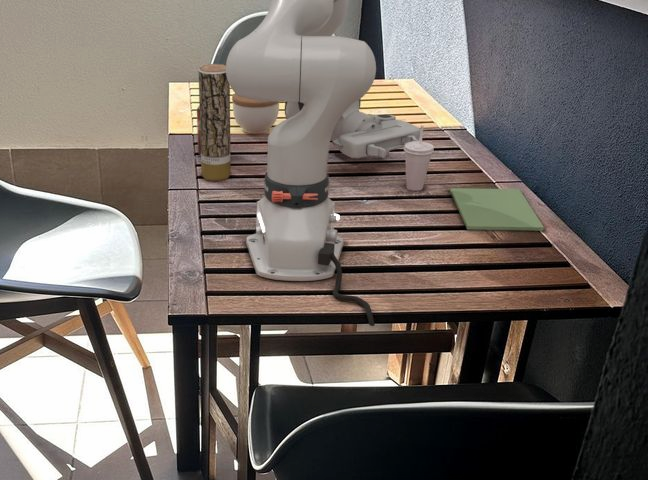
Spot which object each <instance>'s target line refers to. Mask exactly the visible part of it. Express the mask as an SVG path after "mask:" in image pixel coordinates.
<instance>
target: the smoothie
mask: <svg viewBox="0 0 648 480" xmlns="http://www.w3.org/2000/svg"><path fill="white" fill-rule="evenodd" d="M424 127H425V126H424V125H422V124H421V125H420V139H419V141H413V142H408V143H406V144H405V146H404V147H403V151H404V153H405V154H404V157H405V159H404V160H405V188H406V189H407V190H409V191H414V192H415V191H416V192H418V191H422V190H423V189H424V186H425V181H426V177H427V175H428V174H427V173H428V169H429V167H430V162H431V157H432V154H434V151H435V150H434V149H435V145H433V144H431V143H429V142H426V141H423V136H424V135H423V134H424Z"/></svg>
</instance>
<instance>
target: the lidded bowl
mask: <svg viewBox="0 0 648 480" xmlns="http://www.w3.org/2000/svg"><path fill="white" fill-rule="evenodd" d="M231 101H232V112H233V117H234V120H235V122H236V124H237V125H238V126H239V127H240V128H241V129H242V131H243V132H245V133H247V134H253V135H254V134H255V135H258V134H264V133H267V132H269V131H270V129H271V128H272V127H273V126H274V124H275V123H276V122H277V119H278V117H279V111H280V102H276V101H258V100H253V99H249V98H244V97H240V96H238V95H237V94H236V93H235V92H234V93H233V94H232V96H231Z"/></svg>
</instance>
